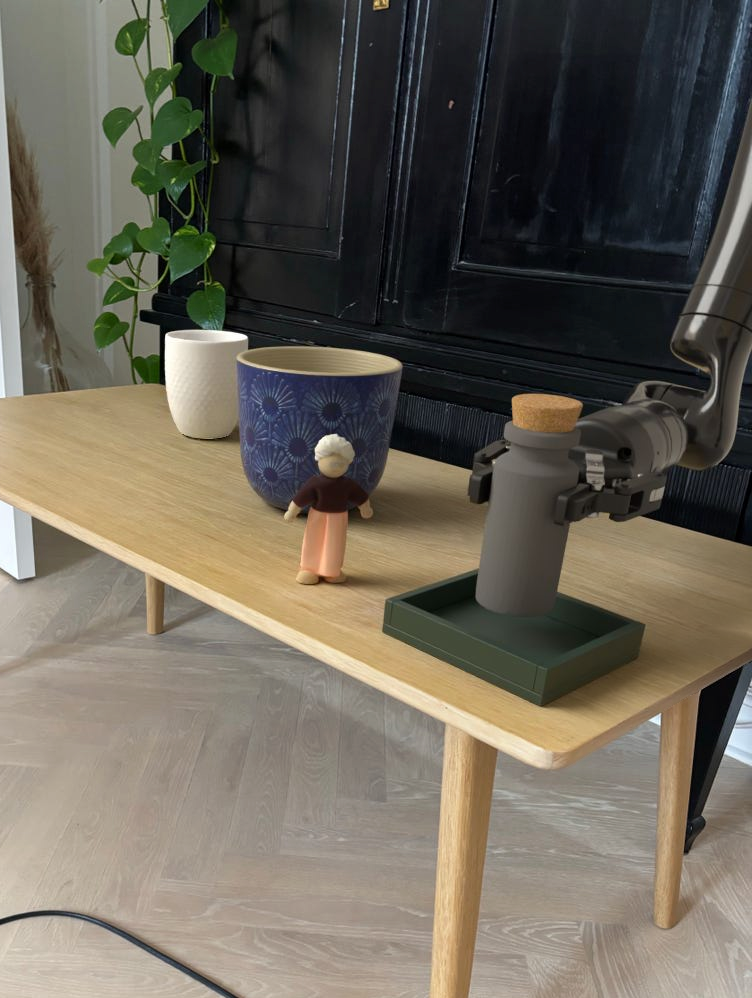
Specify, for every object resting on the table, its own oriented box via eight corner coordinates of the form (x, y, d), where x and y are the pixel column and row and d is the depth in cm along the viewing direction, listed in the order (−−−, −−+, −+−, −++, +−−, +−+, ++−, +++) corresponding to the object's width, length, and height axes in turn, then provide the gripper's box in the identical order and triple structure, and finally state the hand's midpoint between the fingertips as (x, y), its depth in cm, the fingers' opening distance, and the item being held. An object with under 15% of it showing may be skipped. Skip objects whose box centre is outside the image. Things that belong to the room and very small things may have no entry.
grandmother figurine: (295, 590, 80) (304, 442, 74) (277, 574, 83) (284, 431, 77) (374, 580, 83) (388, 437, 77) (354, 565, 86) (366, 426, 80)
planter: (273, 535, 92) (280, 376, 86) (209, 487, 106) (211, 347, 99) (419, 518, 99) (436, 370, 93) (340, 476, 113) (350, 344, 106)
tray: (638, 657, 71) (646, 623, 70) (540, 707, 63) (547, 670, 62) (482, 595, 81) (486, 565, 79) (381, 632, 73) (385, 598, 72)
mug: (170, 417, 137) (170, 324, 132) (246, 421, 138) (249, 327, 132) (161, 442, 124) (160, 339, 118) (244, 445, 124) (248, 343, 119)
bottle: (493, 580, 74) (523, 388, 68) (565, 600, 71) (604, 400, 65) (461, 603, 70) (489, 400, 63) (536, 625, 67) (574, 414, 60)
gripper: (534, 395, 79) (432, 427, 67) (710, 426, 71) (630, 468, 59) (520, 482, 83) (421, 527, 71) (687, 520, 75) (607, 578, 63)
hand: (517, 500), depth 65 cm, fingers closed on bottle, 6 cm apart
